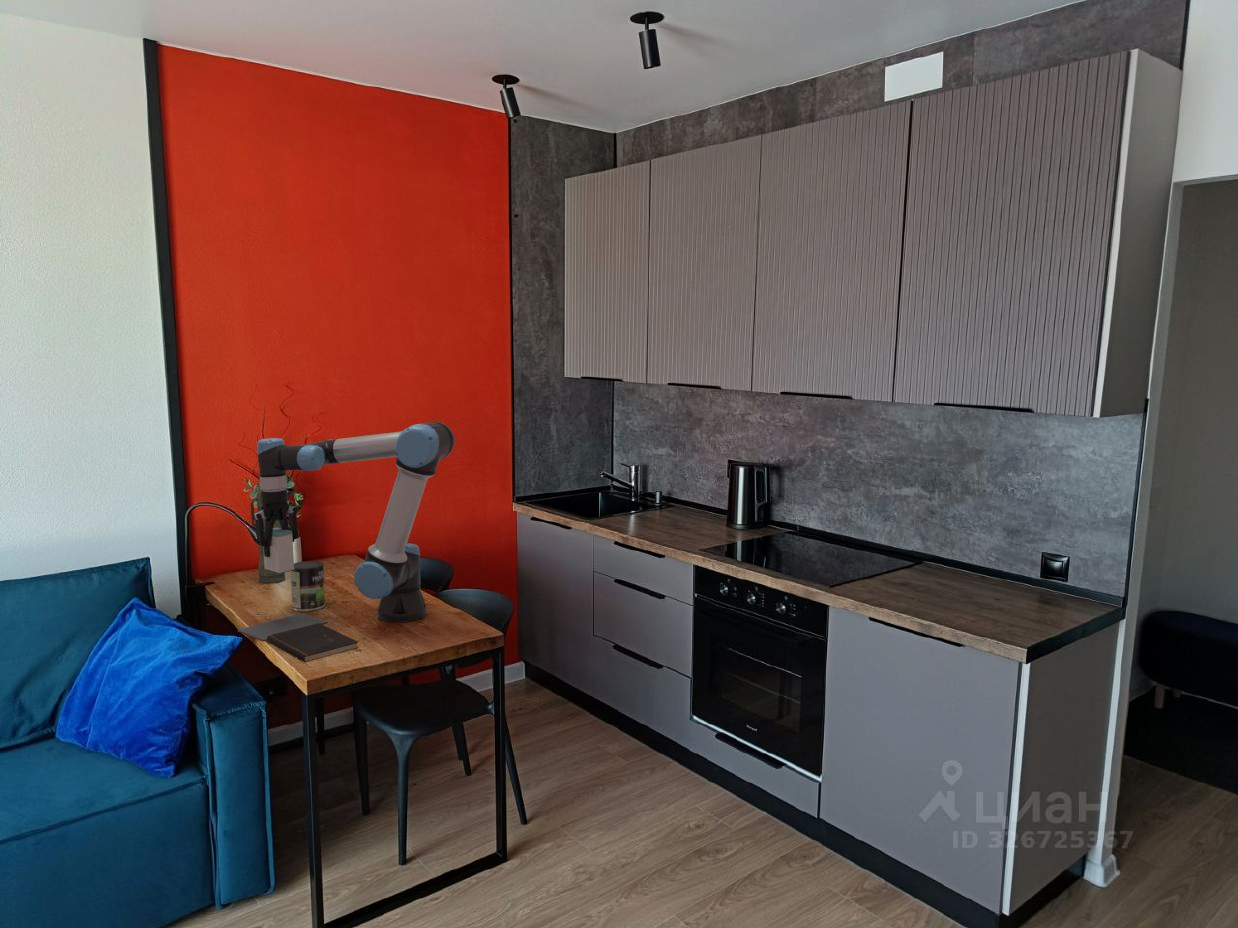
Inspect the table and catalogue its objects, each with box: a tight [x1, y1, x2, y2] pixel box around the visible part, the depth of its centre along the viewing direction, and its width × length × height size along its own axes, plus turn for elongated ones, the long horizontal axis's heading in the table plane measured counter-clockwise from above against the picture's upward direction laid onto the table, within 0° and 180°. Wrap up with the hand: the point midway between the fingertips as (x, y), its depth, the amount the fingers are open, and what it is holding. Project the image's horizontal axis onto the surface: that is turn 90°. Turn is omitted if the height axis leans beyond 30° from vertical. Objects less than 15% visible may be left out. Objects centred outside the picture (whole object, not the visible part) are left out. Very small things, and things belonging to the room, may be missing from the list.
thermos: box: [249, 485, 288, 585], centre depth 305 cm, size 9×12×35 cm
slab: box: [263, 528, 295, 573], centre depth 259 cm, size 8×5×12 cm, turn 53°
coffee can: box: [290, 560, 326, 612], centre depth 276 cm, size 10×10×14 cm
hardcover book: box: [267, 623, 359, 663], centre depth 242 cm, size 16×23×2 cm
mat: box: [237, 612, 328, 642], centre depth 257 cm, size 14×21×1 cm, turn 143°
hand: (279, 564), depth 260 cm, fingers closed on slab, 5 cm apart
